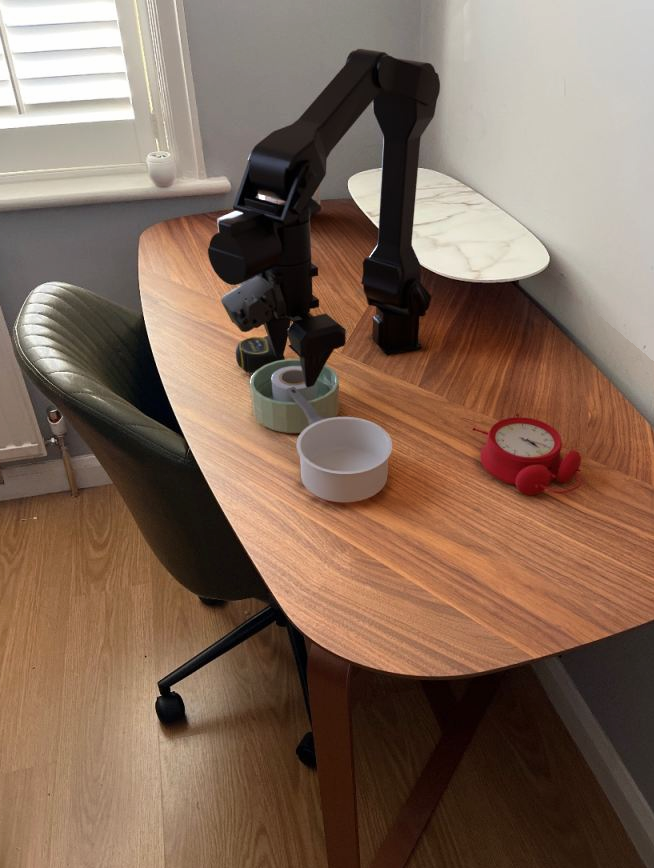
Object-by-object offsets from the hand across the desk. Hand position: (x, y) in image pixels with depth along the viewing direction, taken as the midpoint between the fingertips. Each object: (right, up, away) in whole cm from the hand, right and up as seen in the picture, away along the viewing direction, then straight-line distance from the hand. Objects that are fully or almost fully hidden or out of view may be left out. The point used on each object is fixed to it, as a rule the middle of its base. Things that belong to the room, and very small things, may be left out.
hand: (294, 370), depth 101 cm
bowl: (0, -5, +4) cm, 6 cm away
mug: (-7, +45, +63) cm, 78 cm away
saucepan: (+5, -13, -5) cm, 14 cm away
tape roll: (0, -5, +4) cm, 6 cm away
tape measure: (-6, +3, +14) cm, 16 cm away
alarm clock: (+30, -14, -5) cm, 34 cm away
